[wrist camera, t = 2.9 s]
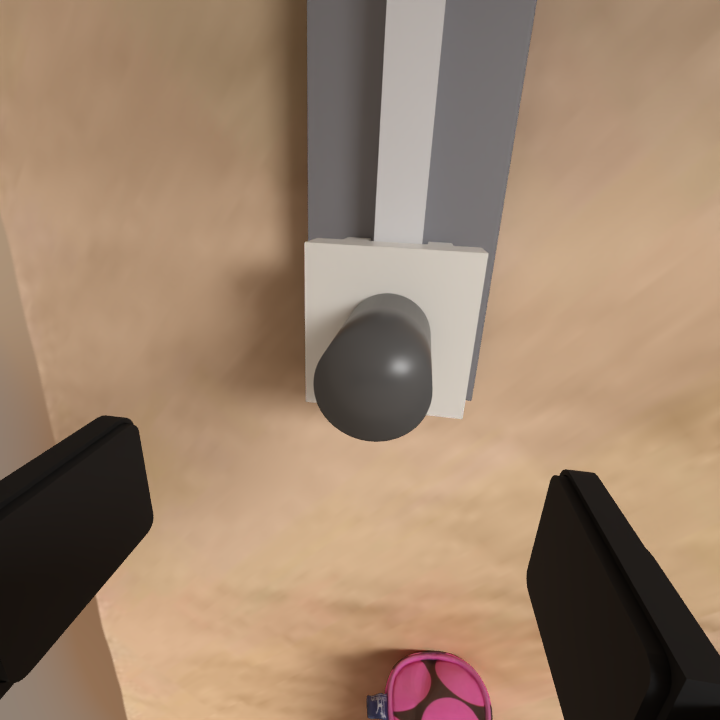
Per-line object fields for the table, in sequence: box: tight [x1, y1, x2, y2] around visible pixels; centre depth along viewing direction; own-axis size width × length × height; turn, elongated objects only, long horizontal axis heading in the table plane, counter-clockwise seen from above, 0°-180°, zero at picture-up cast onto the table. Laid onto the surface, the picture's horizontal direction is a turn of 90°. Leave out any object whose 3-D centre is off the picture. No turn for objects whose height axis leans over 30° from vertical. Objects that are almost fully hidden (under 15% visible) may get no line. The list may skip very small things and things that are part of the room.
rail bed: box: [307, 0, 537, 401], centre depth 20 cm, size 10×26×4 cm, turn 177°
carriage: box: [304, 237, 489, 442], centre depth 18 cm, size 8×8×10 cm
